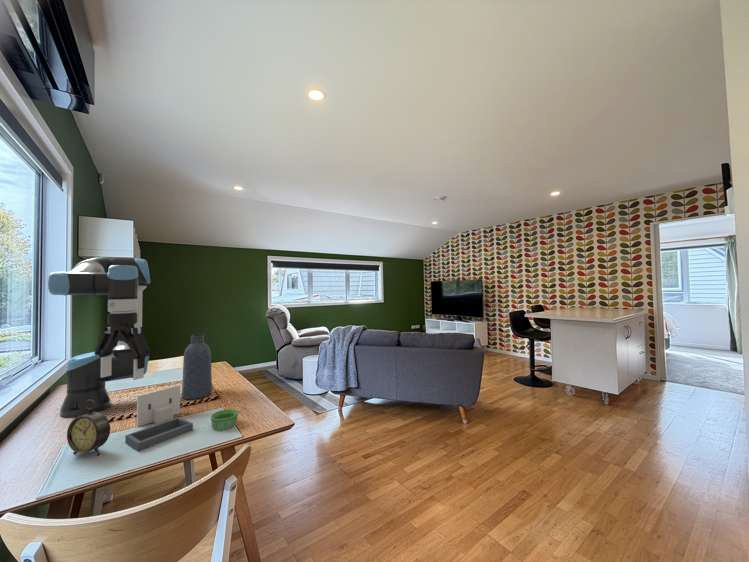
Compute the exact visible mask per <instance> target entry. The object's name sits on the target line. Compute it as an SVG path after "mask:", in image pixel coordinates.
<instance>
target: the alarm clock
mask: <svg viewBox="0 0 749 562" xmlns="http://www.w3.org/2000/svg"><path fill="white" fill-rule="evenodd" d="M88 401H93V403H94V408H95V406H96V404H95V401H94V400H91V399H90V400H87V401H86V403H85V406H86V408H87V409H88V407H87V402H88ZM94 408H93V409H94ZM93 409H92V408H90V409H88V411H89V412H88V414H85V415H82V416H76V417H75V418H74V419H72V421H71V422H70V423H69V425H68V427H67V431H66V440H67V443H68V445H69V447H70V449H71V450H72V451H74V452H72V453H73V454H74V455H75V454H80V455H83V454H84V455H85V454H88V453H89V452H92V451H94V453H96V456H98V457H99V456H100V455H101V454H100V452H99V448H100V447H102V446H104V444H105V443H107V441H108V439H109V437H110V433H111V423H110V421H109V419H108V417H107V416H106V415H105V414H103V413H102V412H100V411H98V412H92V410H93Z"/></svg>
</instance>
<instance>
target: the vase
mask: <svg viewBox="0 0 749 562" xmlns="http://www.w3.org/2000/svg"><path fill="white" fill-rule="evenodd" d="M182 361H183V365H182V381H181V383H182V384H181V397H182V399H183V400H186V399H194V400H198V399H197V398H200V399H203V398H202V397H204V398H206V397H209V396H210V395H212V392H213V382H212V381H213V379H212V353H211V349H210V347H209V345H208V344H207V343H205V334H193V335H191V336H190V344H189V345H187V347H186V348H185V350H184V353H183V360H182ZM208 395H209V396H208ZM205 396H206V397H205Z"/></svg>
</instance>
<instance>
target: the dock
mask: <svg viewBox="0 0 749 562" xmlns="http://www.w3.org/2000/svg"><path fill="white" fill-rule="evenodd" d="M192 431H194V422H191V421H189V420H186V419H184V418H182V417H180V416H178V417H175V418H173V419H172V420H169V421H166V422H163V423H160V424H155V425H151V426H148V427H146V428H143V429H139V430H136V431H134V432H131V433H127V434H126V435H124V436H125V439H124V440H125V443H124V444H126V445H127V446H129V447H130V448H132V449H133V450H135V451H137V452H139V453H140V452H142V451H144V450H146V449H149V448H151V447H154V446H157V445H159V444H162V443H164V442H167V441H170V440H173V439H175V438H177V437H181V436H183V435H185V434H187V433H190V432H192Z"/></svg>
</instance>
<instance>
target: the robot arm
mask: <svg viewBox="0 0 749 562" xmlns="http://www.w3.org/2000/svg"><path fill="white" fill-rule="evenodd" d="M147 284H148V285H149V284H151V277H150V269H149V265H148V261H147V260H146V259H143V258H137V257H112V256H110V257H109V256H103V257H101V256H100V257H93V258H89V259H84V260H82V261H80V262H78V263H76V264H75V265H74V267H73V269H72V270H70V271H54V272H51V273H50V274H49V276H48V279H47V287H48V292H49V294H51V295H54V296H78V295H79V296H82V295H83V296H84V295H87V296H88V295H99V296H101V295H107V312H109V313H108V314H107V316H106V317H107V318H106V319H107V320H106V321H107V322H106V323H107V326H104V327H102V333H101V335H100V337H99V341H98V343H97V344H96V345H97V346H96V348H95V351H92V352H86V353H81V354H79V355H75V356H73V357H71V358H69V360H67V364H66V365H67V366H66V395H65V398H64V400H63V402H62V404H61V407H60V409H59V416H60V417H62V418H74V417H75V418H77V417H79V416H82V415H85V414H88V412H89V411H88V409H90V408H92V409H93V408H94V403H93V401H88V402H87V407H88V409H87V408H86V406H85V403H86V401H87V400H90V399H91V400H94V401H95V404H96V406H95V408H94V409H93V410H92V412H101V411H103V410H106V409H108V408H109V407H110V406H111V397H110V395H109V393H108V391H107V388H106V382H114V381H119V380H127V379H133V380H134V381H136V380H139V379H143V378H145V377H144V376H145V375H146V373H147V371H148V365H149V360H150V356H151V355H152V354H151V351H150V347H149V345H148V342H147V340H146V338H145V335H144V329H143V291H144V290H145V289H146V288H148V287H147Z"/></svg>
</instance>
